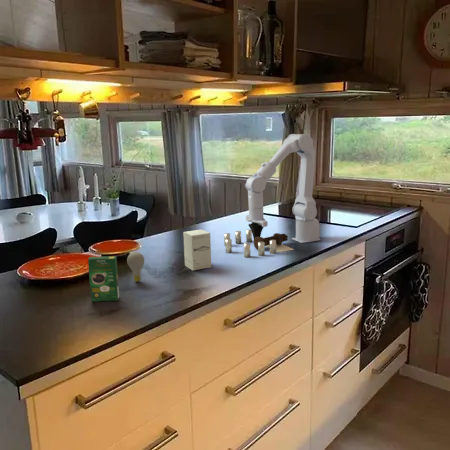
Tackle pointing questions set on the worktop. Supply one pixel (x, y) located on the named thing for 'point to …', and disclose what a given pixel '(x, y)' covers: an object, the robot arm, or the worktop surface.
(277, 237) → the brown bone
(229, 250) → the spacers
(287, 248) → the mat
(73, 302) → the worktop surface
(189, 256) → the supplement box
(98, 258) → the coffee box
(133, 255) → the light bulb
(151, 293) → the worktop surface
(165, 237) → the worktop surface
